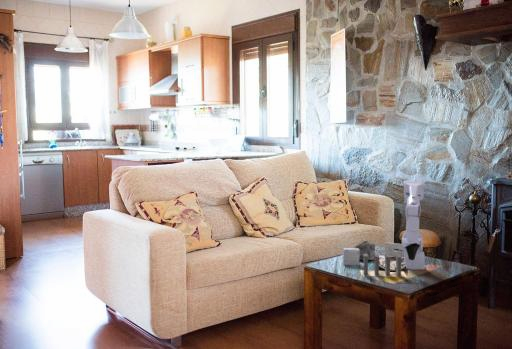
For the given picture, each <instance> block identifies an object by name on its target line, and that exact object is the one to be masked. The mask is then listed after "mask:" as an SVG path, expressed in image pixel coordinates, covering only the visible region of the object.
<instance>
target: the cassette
mask: <svg viewBox="0 0 512 349" xmlns="http://www.w3.org/2000/svg"><path fill="white" fill-rule="evenodd" d="M385 254H389V256H396V254H397V255H400V256H401V257H404V250H403V249H402V243H395V242H385V243H384V255H385Z"/></svg>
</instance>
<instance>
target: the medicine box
mask: <svg viewBox="0 0 512 349" xmlns="http://www.w3.org/2000/svg"><path fill="white" fill-rule="evenodd" d="M359 252H360V251H359V249H358V248H355V247H343V248H342V265H343V266H360V260H359Z"/></svg>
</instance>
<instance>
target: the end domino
mask: <svg viewBox="0 0 512 349" xmlns="http://www.w3.org/2000/svg"><path fill="white" fill-rule="evenodd" d="M362 262H363V263H362V265H363V267H362V268H363V273H364V275H368V270H369V260H368V255H367V254H364V258H363V260H362Z"/></svg>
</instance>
